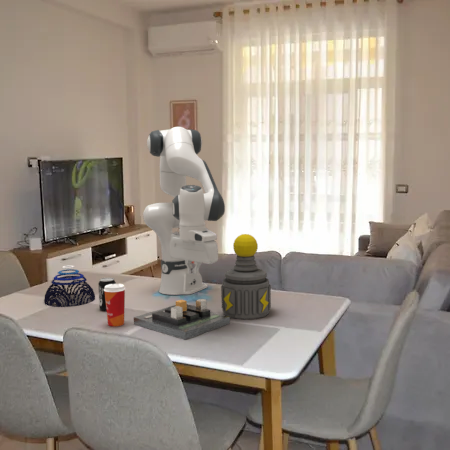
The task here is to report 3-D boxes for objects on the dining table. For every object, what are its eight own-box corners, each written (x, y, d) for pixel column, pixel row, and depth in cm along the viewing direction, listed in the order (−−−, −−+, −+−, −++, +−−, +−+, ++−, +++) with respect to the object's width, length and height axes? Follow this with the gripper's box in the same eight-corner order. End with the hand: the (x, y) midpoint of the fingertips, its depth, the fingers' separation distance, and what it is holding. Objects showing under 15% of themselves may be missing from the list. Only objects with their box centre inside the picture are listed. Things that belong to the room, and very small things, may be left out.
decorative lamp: (245, 303, 225) (244, 229, 221) (281, 312, 211) (281, 233, 207) (210, 313, 212) (209, 234, 208) (247, 323, 198) (246, 239, 194)
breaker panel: (178, 310, 216) (178, 290, 214) (229, 323, 198) (229, 301, 197) (133, 324, 199) (133, 302, 198) (185, 339, 182) (184, 315, 181)
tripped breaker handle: (181, 309, 200) (181, 299, 200) (186, 310, 198) (186, 300, 198) (175, 311, 198) (175, 301, 197) (180, 312, 196) (180, 302, 196)
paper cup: (106, 321, 203) (104, 283, 201) (127, 320, 204) (126, 282, 202) (103, 328, 195) (101, 288, 194) (126, 327, 196) (124, 288, 194)
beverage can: (112, 312, 215) (111, 281, 213) (96, 311, 216) (95, 280, 215) (119, 307, 221) (118, 277, 220) (103, 306, 223) (102, 277, 221)
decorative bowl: (33, 304, 228) (31, 270, 226) (65, 293, 246) (63, 260, 244) (74, 309, 220) (72, 273, 218) (103, 296, 239) (102, 263, 237)
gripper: (164, 232, 195) (166, 271, 197) (207, 237, 181) (208, 279, 183) (178, 229, 199) (179, 268, 201) (220, 235, 186) (221, 275, 188)
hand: (193, 273), depth 192 cm, fingers closed
